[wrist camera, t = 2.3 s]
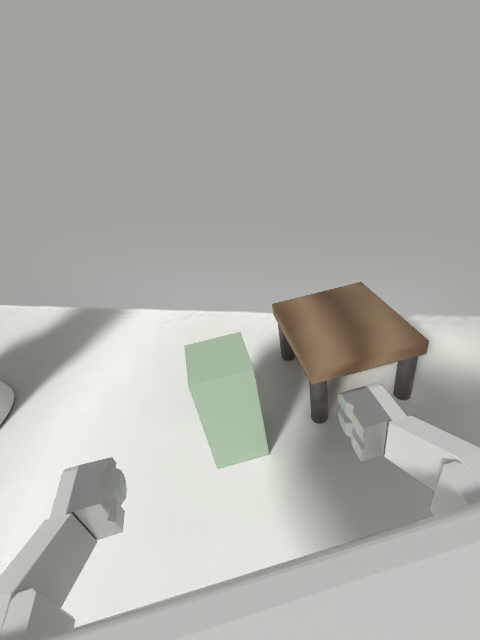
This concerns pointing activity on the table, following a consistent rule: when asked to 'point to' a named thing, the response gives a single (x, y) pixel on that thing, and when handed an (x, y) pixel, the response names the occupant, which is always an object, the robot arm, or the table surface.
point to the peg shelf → (346, 339)
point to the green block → (227, 399)
